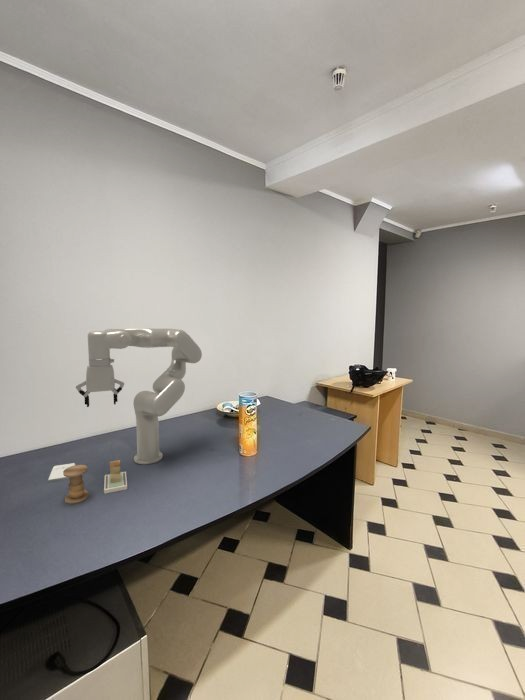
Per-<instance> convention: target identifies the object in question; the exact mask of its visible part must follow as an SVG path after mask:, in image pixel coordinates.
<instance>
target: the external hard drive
mask: <svg viewBox="0 0 525 700" xmlns="http://www.w3.org/2000/svg"><path fill="white" fill-rule="evenodd" d="M74 465H76V463H75V462H72V463H65V464H57V465H54V466H53V468H52V469H51V470H50V471H51V472H50V474H49V477H48V478H47V479H48V480H47V482H48V483H50V482H57V481H65V480H70V477H65V476H64V475H63V471H64V470H65V469H66V468H68V467H71V466H74Z"/></svg>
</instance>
